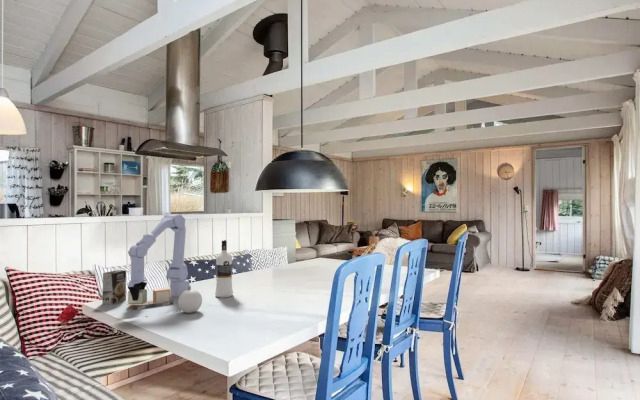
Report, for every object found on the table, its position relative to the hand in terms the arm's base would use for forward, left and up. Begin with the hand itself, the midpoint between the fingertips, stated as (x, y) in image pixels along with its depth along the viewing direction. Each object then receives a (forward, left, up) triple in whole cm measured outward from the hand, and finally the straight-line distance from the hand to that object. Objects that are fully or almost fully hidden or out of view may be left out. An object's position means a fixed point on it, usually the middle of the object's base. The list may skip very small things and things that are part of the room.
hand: (137, 299), depth 182 cm
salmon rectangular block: (-11, -1, -3) cm, 11 cm away
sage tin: (0, 0, -2) cm, 2 cm away
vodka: (-43, +2, -4) cm, 43 cm away
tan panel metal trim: (-6, +1, -4) cm, 7 cm away
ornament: (-18, +23, -4) cm, 29 cm away
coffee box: (+7, -15, -4) cm, 17 cm away
